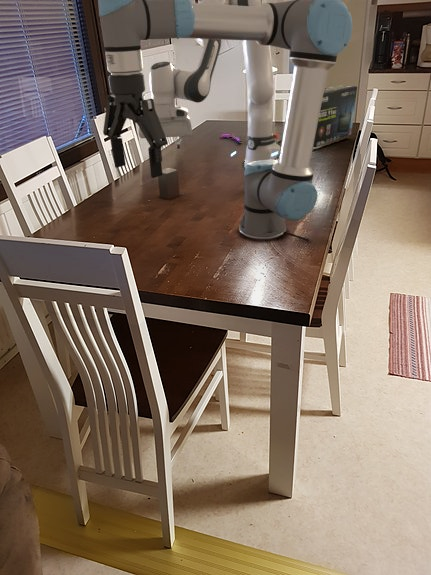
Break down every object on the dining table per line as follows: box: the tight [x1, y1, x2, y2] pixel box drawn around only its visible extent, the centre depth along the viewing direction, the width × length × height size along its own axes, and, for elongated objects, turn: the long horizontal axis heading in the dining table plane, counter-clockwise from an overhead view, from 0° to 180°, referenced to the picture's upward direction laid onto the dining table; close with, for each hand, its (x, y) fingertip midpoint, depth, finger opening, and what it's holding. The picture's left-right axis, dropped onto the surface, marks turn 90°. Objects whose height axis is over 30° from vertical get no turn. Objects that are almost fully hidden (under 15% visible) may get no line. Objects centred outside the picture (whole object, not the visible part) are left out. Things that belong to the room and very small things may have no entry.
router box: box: [313, 84, 358, 147], centre depth 238 cm, size 36×11×27 cm, turn 134°
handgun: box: [220, 133, 243, 145], centre depth 256 cm, size 21×8×2 cm, turn 11°
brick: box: [157, 167, 180, 201], centre depth 180 cm, size 5×6×10 cm
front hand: (138, 171), depth 109 cm, fingers open, 13 cm apart
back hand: (166, 148), depth 177 cm, fingers open, 8 cm apart
